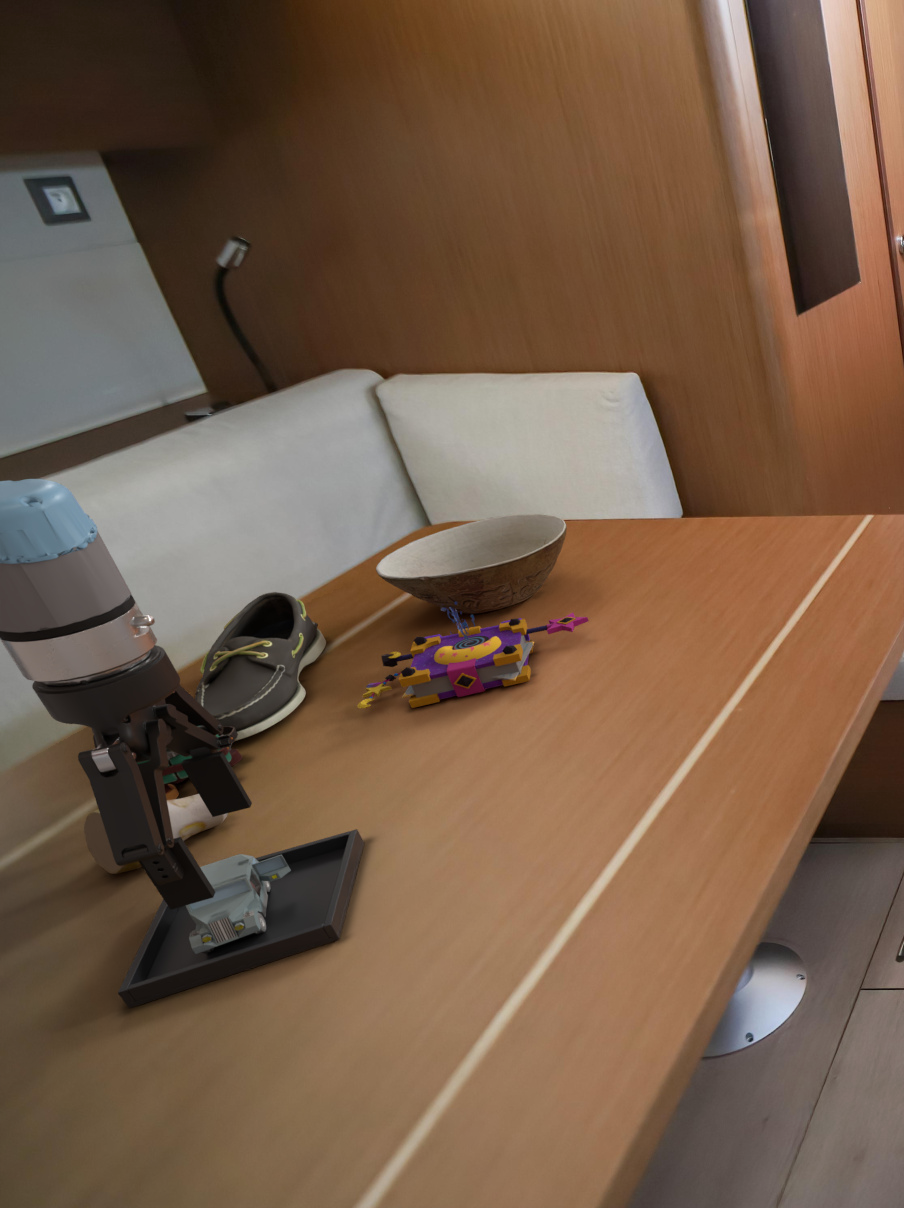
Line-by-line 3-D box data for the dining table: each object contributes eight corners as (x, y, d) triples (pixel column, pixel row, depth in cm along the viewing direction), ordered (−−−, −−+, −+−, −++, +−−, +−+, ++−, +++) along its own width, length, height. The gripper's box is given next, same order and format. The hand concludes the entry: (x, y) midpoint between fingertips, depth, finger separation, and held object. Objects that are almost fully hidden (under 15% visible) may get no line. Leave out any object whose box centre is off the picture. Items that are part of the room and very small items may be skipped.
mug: (261, 818, 105) (179, 787, 97) (171, 898, 100) (77, 873, 92) (218, 787, 107) (134, 754, 99) (128, 864, 102) (31, 837, 94)
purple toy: (380, 671, 131) (343, 593, 126) (593, 625, 143) (568, 552, 137) (358, 726, 120) (316, 644, 114) (591, 672, 131) (563, 595, 126)
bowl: (393, 593, 150) (367, 536, 146) (568, 550, 165) (550, 497, 160) (406, 654, 135) (377, 592, 130) (598, 600, 149) (579, 543, 145)
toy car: (202, 964, 87) (176, 925, 85) (213, 899, 94) (189, 862, 92) (296, 929, 91) (273, 891, 89) (301, 869, 98) (279, 833, 96)
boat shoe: (189, 763, 113) (151, 703, 109) (221, 659, 133) (190, 605, 129) (316, 728, 120) (285, 670, 116) (328, 634, 139) (302, 581, 136)
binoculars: (214, 675, 113) (199, 707, 105) (253, 751, 117) (242, 786, 109) (103, 702, 107) (80, 737, 100) (149, 781, 111) (129, 820, 104)
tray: (129, 1008, 84) (117, 993, 83) (181, 896, 95) (171, 881, 94) (339, 939, 91) (331, 924, 90) (364, 842, 102) (357, 828, 101)
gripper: (108, 726, 72) (235, 927, 82) (200, 589, 91) (295, 765, 100) (-41, 758, 68) (110, 964, 78) (87, 608, 87) (196, 790, 96)
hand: (214, 853), depth 89 cm, fingers open, 13 cm apart
